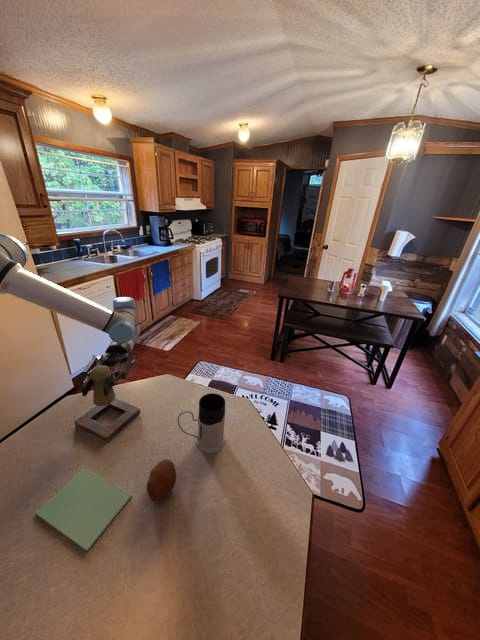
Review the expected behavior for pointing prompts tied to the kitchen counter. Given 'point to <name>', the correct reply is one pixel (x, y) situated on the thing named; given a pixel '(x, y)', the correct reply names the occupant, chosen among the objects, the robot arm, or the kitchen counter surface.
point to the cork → (101, 386)
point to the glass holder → (209, 423)
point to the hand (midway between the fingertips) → (94, 391)
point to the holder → (108, 433)
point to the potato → (161, 480)
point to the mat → (84, 508)
